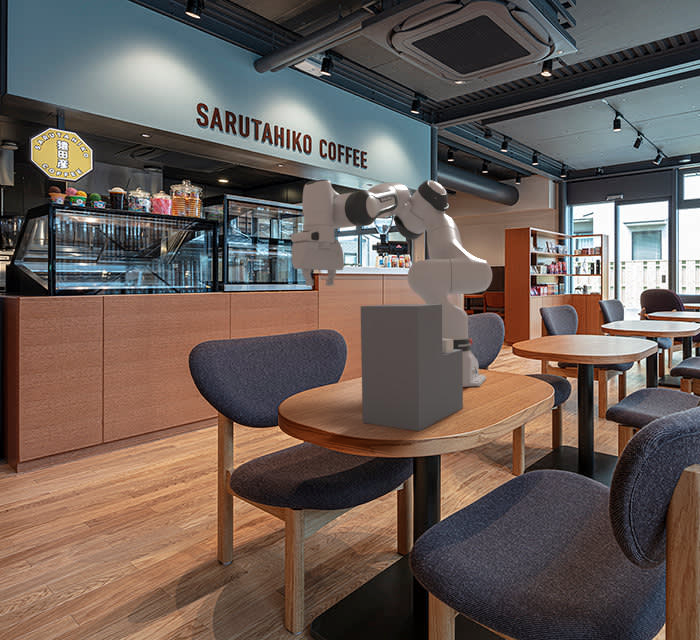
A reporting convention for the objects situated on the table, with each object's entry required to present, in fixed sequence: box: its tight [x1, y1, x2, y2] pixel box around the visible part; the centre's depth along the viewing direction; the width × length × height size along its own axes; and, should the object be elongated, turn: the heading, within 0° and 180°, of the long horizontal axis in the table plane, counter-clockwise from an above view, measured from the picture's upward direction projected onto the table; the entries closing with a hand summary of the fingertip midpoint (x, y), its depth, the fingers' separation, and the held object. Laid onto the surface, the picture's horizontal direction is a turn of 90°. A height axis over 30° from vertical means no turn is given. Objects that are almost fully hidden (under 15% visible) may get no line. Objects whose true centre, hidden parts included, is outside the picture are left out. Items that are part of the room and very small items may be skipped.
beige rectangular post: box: [442, 338, 453, 353], centre depth 125 cm, size 4×21×3 cm, turn 56°
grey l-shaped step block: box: [359, 303, 464, 432], centre depth 118 cm, size 24×14×26 cm, turn 146°
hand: (320, 285), depth 145 cm, fingers open, 8 cm apart
